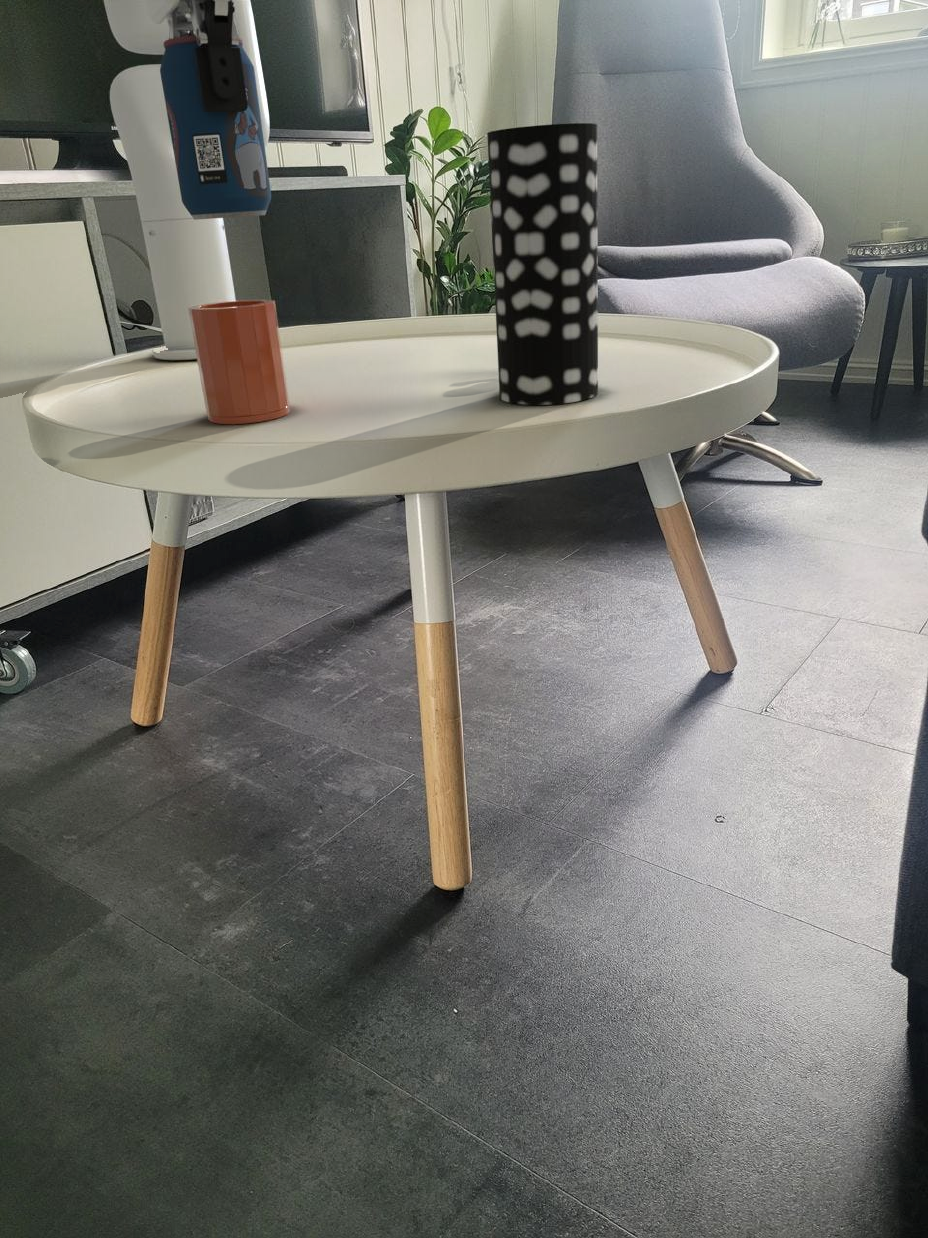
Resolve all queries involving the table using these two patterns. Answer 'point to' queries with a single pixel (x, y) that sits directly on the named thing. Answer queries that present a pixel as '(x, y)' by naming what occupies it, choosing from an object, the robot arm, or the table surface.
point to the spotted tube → (545, 261)
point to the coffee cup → (240, 361)
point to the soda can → (214, 141)
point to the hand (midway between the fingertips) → (213, 115)
